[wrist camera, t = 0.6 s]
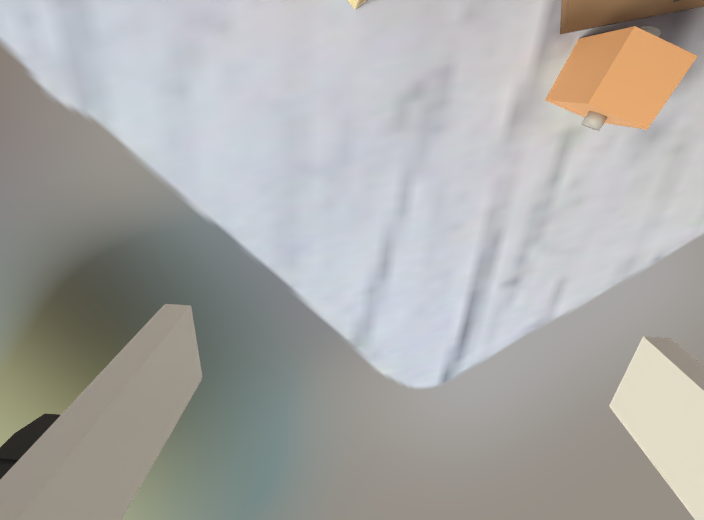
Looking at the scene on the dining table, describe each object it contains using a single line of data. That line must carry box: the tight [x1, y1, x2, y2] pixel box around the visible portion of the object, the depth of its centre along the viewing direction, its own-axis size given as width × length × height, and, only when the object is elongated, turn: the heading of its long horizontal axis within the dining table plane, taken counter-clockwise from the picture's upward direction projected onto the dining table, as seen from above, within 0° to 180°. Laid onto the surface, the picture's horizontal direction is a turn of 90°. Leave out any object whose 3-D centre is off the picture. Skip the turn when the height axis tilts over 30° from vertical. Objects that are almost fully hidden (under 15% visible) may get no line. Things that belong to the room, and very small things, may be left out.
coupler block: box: [545, 26, 698, 130], centre depth 28 cm, size 7×5×7 cm
